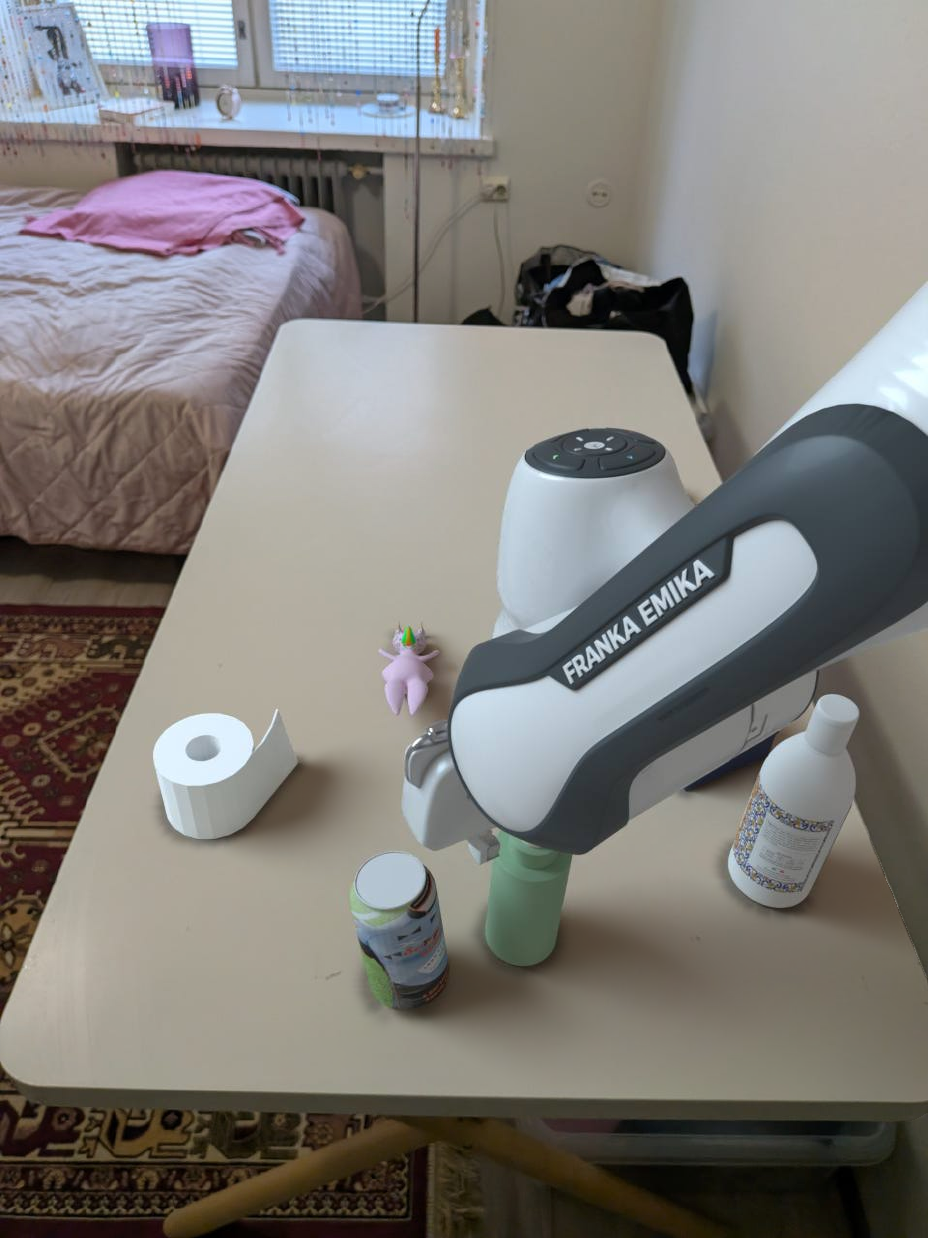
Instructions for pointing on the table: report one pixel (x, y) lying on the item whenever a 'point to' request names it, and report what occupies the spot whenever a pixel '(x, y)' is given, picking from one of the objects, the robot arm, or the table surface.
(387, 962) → the beverage can
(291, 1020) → the table surface
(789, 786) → the bath foam
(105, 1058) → the table surface
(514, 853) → the bottle
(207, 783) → the toilet paper
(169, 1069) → the table surface
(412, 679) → the pink toy figurine
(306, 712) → the table surface
